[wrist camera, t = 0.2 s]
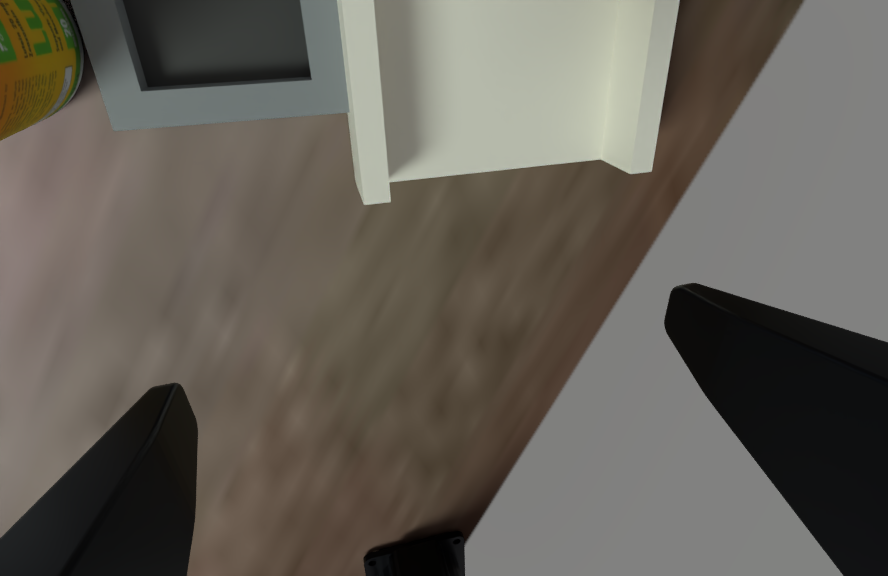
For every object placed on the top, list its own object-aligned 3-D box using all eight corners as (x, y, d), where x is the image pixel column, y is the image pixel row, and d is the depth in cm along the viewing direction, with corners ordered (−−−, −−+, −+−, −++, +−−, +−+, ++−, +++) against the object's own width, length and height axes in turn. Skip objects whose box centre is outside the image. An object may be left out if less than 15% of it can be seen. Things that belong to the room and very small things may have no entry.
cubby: (613, 153, 24) (651, 171, 22) (355, 181, 22) (364, 205, 19) (656, -184, 19) (714, -214, 16) (310, -198, 16) (315, -235, 14)
